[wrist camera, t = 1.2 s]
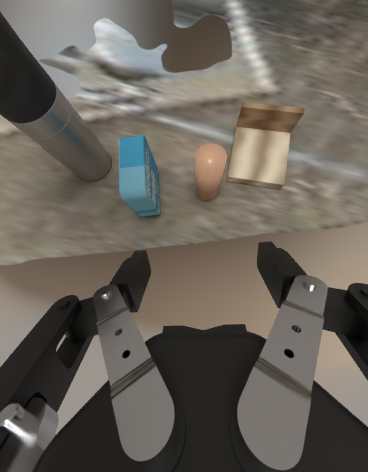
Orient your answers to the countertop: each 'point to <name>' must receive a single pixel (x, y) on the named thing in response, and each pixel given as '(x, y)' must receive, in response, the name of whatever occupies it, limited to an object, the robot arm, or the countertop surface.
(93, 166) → the robot arm
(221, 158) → the peach dome-topped cylinder
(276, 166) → the wooden l-shaped stand
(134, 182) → the data package
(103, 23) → the countertop surface
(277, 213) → the countertop surface
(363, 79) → the countertop surface
